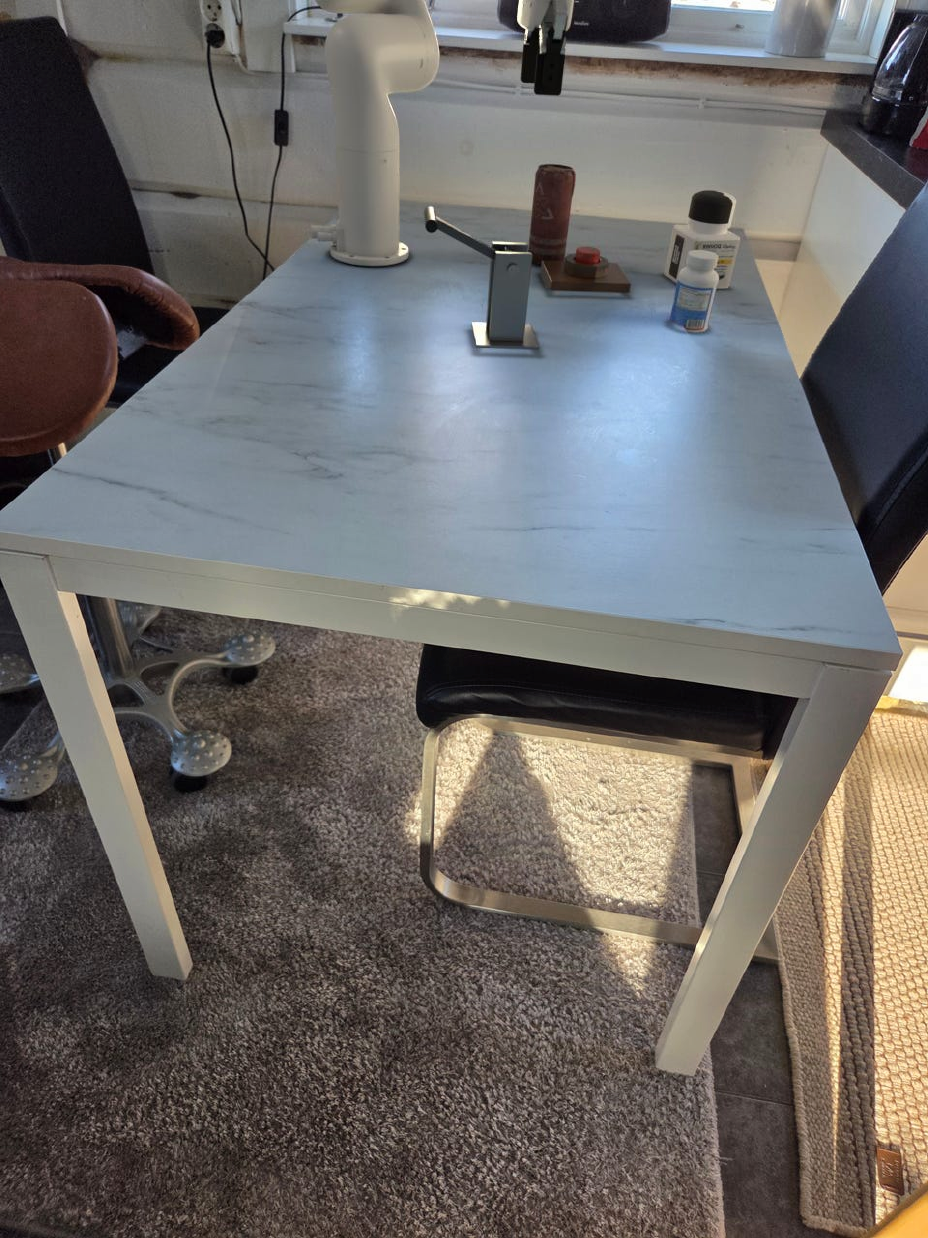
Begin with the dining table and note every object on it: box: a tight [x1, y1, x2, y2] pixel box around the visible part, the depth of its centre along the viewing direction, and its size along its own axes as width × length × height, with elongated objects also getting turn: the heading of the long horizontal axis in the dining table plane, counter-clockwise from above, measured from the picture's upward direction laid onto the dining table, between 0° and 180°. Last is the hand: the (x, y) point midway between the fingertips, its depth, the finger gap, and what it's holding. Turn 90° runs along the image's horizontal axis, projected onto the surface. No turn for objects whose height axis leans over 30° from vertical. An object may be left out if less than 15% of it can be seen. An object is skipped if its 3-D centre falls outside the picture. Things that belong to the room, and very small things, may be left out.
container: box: [663, 189, 741, 290], centre depth 128 cm, size 8×8×13 cm
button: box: [575, 246, 601, 264], centre depth 125 cm, size 4×4×2 cm
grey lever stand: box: [471, 241, 540, 350], centre depth 104 cm, size 8×8×12 cm
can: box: [527, 163, 577, 267], centre depth 132 cm, size 6×6×14 cm
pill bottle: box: [669, 250, 719, 334], centre depth 113 cm, size 6×5×10 cm
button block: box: [540, 252, 632, 294], centre depth 126 cm, size 12×10×4 cm
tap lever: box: [423, 206, 514, 261], centre depth 100 cm, size 13×6×2 cm, turn 94°
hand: (539, 88), depth 101 cm, fingers open, 9 cm apart
